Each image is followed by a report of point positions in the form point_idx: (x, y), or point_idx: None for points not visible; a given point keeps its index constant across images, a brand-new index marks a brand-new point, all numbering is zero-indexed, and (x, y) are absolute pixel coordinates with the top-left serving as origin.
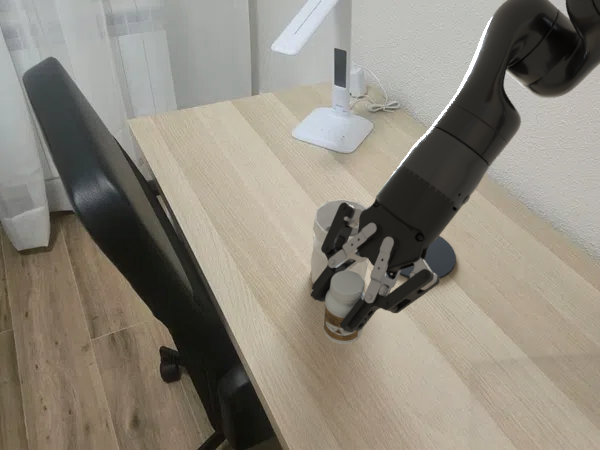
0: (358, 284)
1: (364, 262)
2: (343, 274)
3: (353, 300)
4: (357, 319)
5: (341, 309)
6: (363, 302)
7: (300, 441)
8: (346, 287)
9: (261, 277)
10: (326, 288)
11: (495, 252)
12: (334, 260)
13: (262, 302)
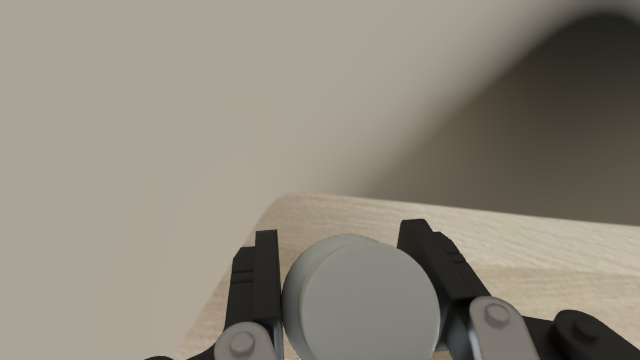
0: (339, 350)
1: None
2: (418, 323)
3: (300, 296)
4: (243, 275)
5: (313, 257)
6: (253, 314)
7: (275, 201)
8: (348, 290)
9: (567, 299)
10: None
11: None
12: (502, 327)
13: (514, 273)
